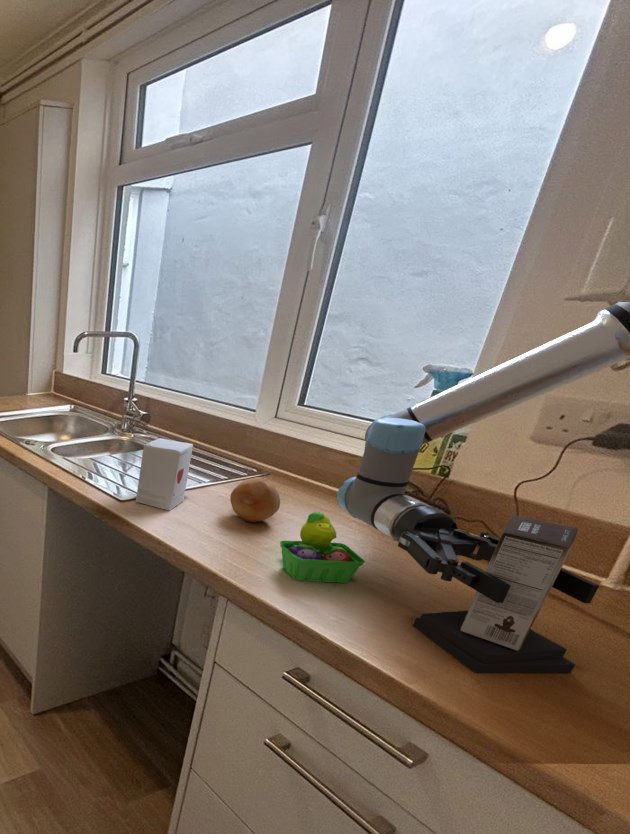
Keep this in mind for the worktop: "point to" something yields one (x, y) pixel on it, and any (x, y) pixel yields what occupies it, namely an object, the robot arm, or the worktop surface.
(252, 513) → the onion
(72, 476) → the worktop surface
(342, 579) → the fruit basket
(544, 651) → the black game console
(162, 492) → the rectangular carton
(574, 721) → the worktop surface
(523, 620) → the coffee box
